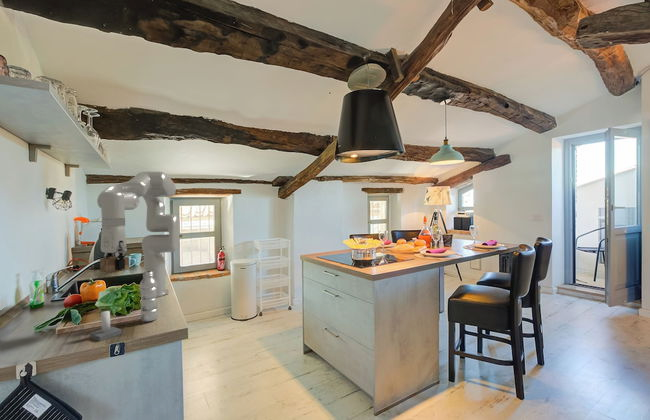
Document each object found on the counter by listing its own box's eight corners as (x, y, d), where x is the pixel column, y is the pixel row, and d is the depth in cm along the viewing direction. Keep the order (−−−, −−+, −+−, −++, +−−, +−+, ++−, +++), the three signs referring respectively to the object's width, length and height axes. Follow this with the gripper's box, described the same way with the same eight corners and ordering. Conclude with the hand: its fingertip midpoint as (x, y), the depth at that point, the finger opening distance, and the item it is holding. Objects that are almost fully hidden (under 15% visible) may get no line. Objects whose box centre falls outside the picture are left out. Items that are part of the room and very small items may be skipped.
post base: (89, 337, 107) (89, 313, 107) (111, 330, 114) (111, 307, 113) (99, 341, 104) (99, 316, 104) (121, 333, 110) (121, 310, 110)
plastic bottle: (162, 317, 126) (161, 269, 125) (151, 324, 119) (150, 273, 118) (147, 317, 126) (146, 269, 126) (136, 323, 119) (134, 273, 119)
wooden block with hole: (100, 271, 117) (99, 258, 117) (119, 267, 123) (119, 255, 123) (109, 273, 114) (109, 259, 113) (129, 269, 120) (128, 256, 120)
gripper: (91, 223, 119) (92, 268, 119) (114, 224, 110) (116, 272, 111) (112, 222, 126) (113, 264, 126) (136, 223, 117) (137, 268, 117)
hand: (114, 268), depth 118 cm, fingers closed on wooden block with hole, 7 cm apart
